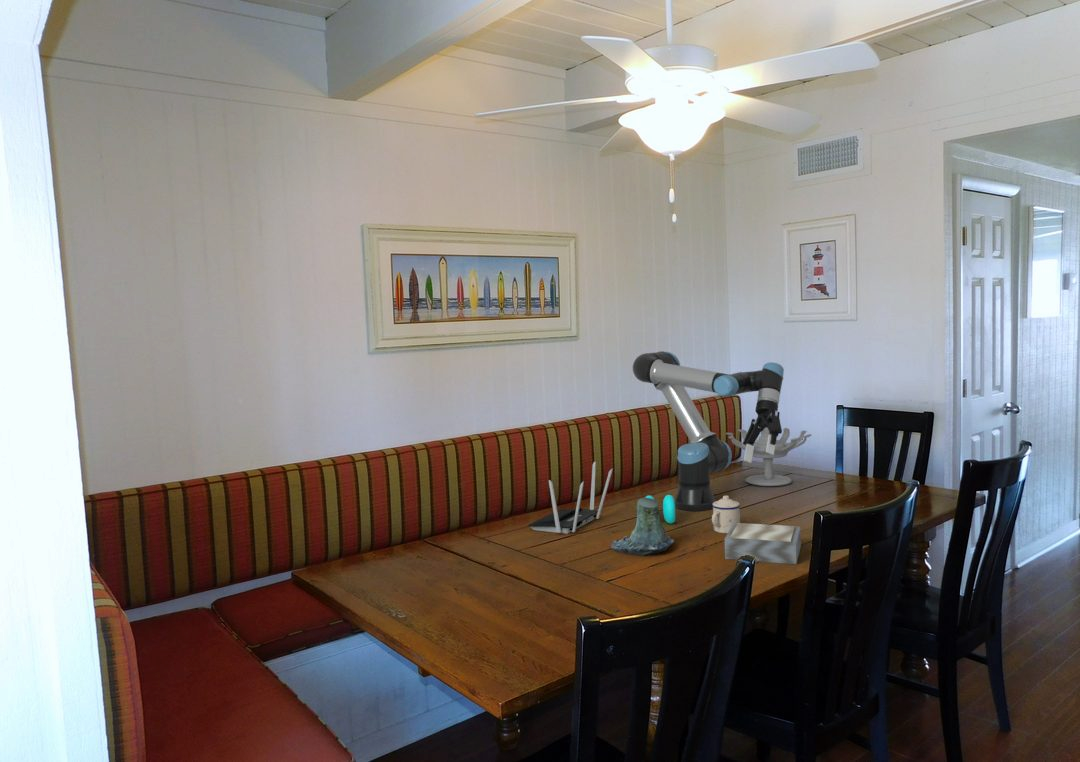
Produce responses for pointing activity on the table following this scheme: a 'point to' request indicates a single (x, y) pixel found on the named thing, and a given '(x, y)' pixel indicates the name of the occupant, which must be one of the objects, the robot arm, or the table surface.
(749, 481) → the candelabra
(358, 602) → the table surface
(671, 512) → the donuts
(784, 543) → the serving riser
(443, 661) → the table surface
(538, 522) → the wireless router
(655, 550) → the tree stump
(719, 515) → the teacup with lid
